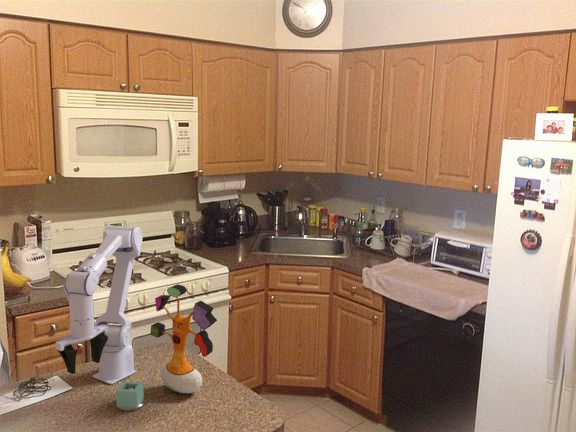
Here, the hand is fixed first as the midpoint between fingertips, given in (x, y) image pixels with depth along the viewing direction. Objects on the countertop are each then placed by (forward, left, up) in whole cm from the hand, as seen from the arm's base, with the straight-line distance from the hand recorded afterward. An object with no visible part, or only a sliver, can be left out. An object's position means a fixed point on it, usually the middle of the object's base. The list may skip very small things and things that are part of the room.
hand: (84, 367), depth 143 cm
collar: (-6, +10, -9) cm, 15 cm away
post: (-6, +11, -10) cm, 16 cm away
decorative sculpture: (-19, +17, -10) cm, 27 cm away
